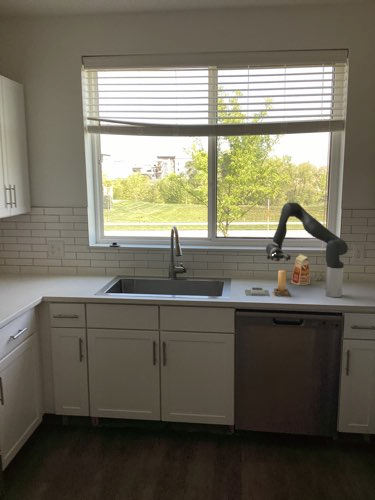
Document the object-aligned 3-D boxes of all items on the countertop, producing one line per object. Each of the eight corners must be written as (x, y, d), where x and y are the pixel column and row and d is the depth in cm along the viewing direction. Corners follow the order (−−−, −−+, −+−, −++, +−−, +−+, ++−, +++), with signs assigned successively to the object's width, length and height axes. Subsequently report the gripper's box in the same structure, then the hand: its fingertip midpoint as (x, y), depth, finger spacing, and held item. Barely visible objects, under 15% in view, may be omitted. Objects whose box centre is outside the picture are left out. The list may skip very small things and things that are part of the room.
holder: (288, 293, 250) (288, 288, 250) (291, 298, 241) (291, 292, 240) (271, 293, 251) (272, 287, 251) (273, 297, 242) (273, 292, 241)
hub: (267, 291, 255) (268, 286, 255) (270, 298, 241) (270, 292, 241) (244, 291, 257) (245, 285, 256) (245, 297, 243) (246, 291, 242)
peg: (285, 293, 247) (286, 270, 245) (284, 295, 243) (285, 272, 241) (278, 292, 249) (279, 270, 246) (277, 294, 245) (277, 271, 242)
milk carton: (290, 282, 279) (292, 253, 276) (301, 281, 283) (303, 252, 279) (299, 285, 271) (301, 255, 267) (311, 284, 274) (312, 254, 271)
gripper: (265, 248, 269) (268, 252, 254) (288, 248, 268) (292, 253, 252) (265, 259, 271) (267, 264, 255) (287, 260, 270) (291, 265, 254)
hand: (280, 258), depth 254 cm, fingers open, 8 cm apart
